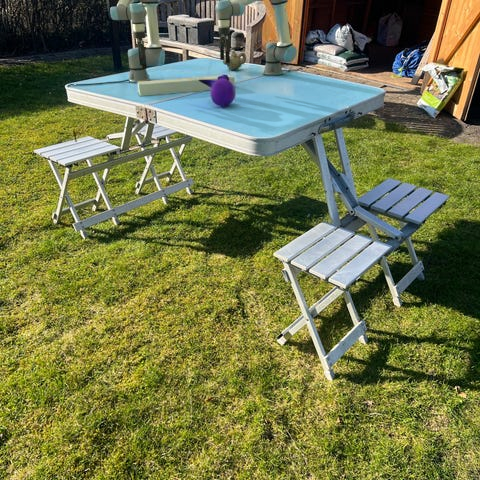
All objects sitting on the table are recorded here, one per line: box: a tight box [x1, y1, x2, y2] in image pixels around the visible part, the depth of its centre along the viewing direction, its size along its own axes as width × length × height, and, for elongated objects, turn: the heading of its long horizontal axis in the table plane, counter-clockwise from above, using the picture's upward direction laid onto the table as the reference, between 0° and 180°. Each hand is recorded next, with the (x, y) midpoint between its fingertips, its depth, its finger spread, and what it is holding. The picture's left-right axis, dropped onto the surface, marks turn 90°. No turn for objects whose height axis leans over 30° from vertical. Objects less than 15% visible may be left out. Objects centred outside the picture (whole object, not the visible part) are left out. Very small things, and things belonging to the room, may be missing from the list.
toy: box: [199, 74, 237, 107], centre depth 269 cm, size 16×18×27 cm
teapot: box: [222, 50, 247, 71], centre depth 368 cm, size 21×12×15 cm, turn 120°
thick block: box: [136, 74, 235, 97], centre depth 306 cm, size 65×10×7 cm, turn 107°
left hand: (143, 67), depth 292 cm, fingers open, 13 cm apart
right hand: (225, 61), depth 306 cm, fingers open, 13 cm apart
